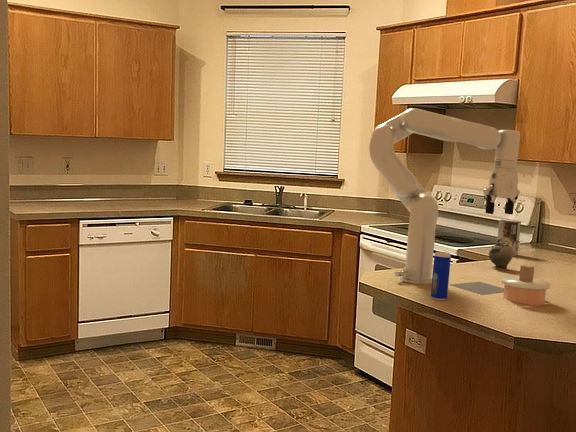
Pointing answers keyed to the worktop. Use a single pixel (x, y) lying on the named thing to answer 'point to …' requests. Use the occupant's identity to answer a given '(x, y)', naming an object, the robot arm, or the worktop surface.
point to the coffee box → (509, 233)
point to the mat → (480, 288)
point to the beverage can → (440, 275)
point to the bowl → (524, 295)
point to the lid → (526, 280)
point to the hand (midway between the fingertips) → (499, 213)
